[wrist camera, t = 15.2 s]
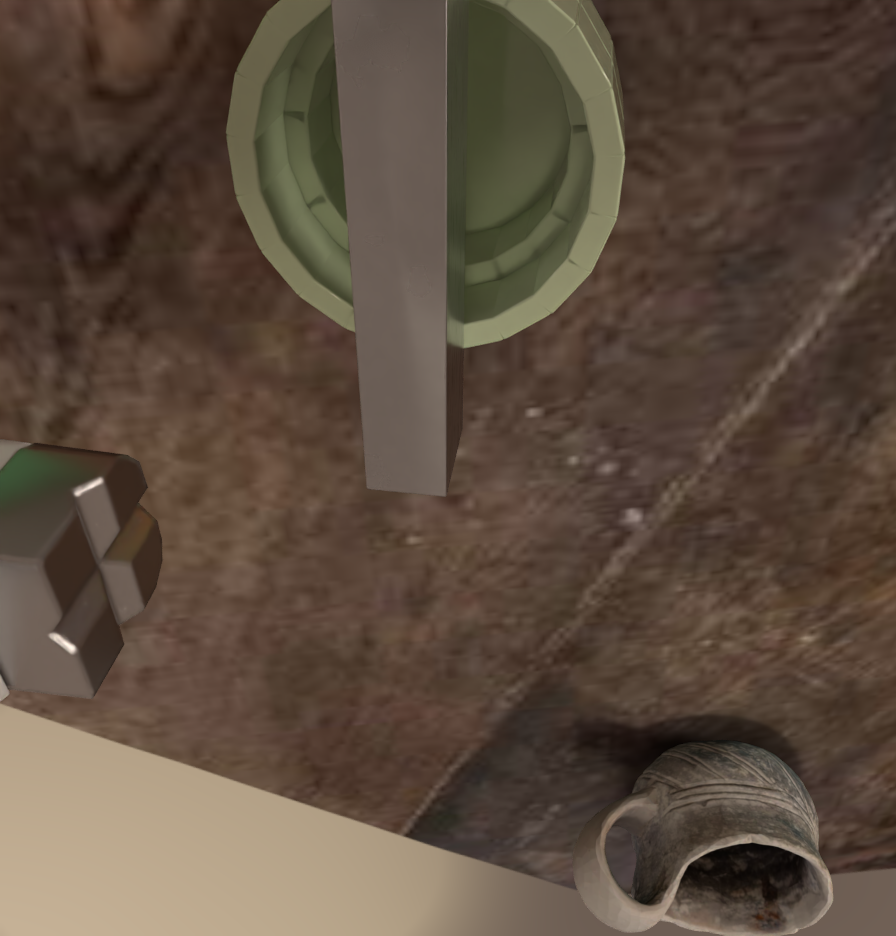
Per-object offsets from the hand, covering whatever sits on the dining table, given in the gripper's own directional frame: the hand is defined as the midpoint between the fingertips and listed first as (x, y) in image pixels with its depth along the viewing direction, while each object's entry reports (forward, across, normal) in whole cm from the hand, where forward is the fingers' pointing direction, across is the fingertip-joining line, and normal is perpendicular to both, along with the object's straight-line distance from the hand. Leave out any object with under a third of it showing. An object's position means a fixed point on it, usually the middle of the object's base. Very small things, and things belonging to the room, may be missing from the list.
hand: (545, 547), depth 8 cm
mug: (+22, -9, +36) cm, 43 cm away
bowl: (+22, +4, +3) cm, 23 cm away
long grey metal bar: (+16, +4, +3) cm, 17 cm away
